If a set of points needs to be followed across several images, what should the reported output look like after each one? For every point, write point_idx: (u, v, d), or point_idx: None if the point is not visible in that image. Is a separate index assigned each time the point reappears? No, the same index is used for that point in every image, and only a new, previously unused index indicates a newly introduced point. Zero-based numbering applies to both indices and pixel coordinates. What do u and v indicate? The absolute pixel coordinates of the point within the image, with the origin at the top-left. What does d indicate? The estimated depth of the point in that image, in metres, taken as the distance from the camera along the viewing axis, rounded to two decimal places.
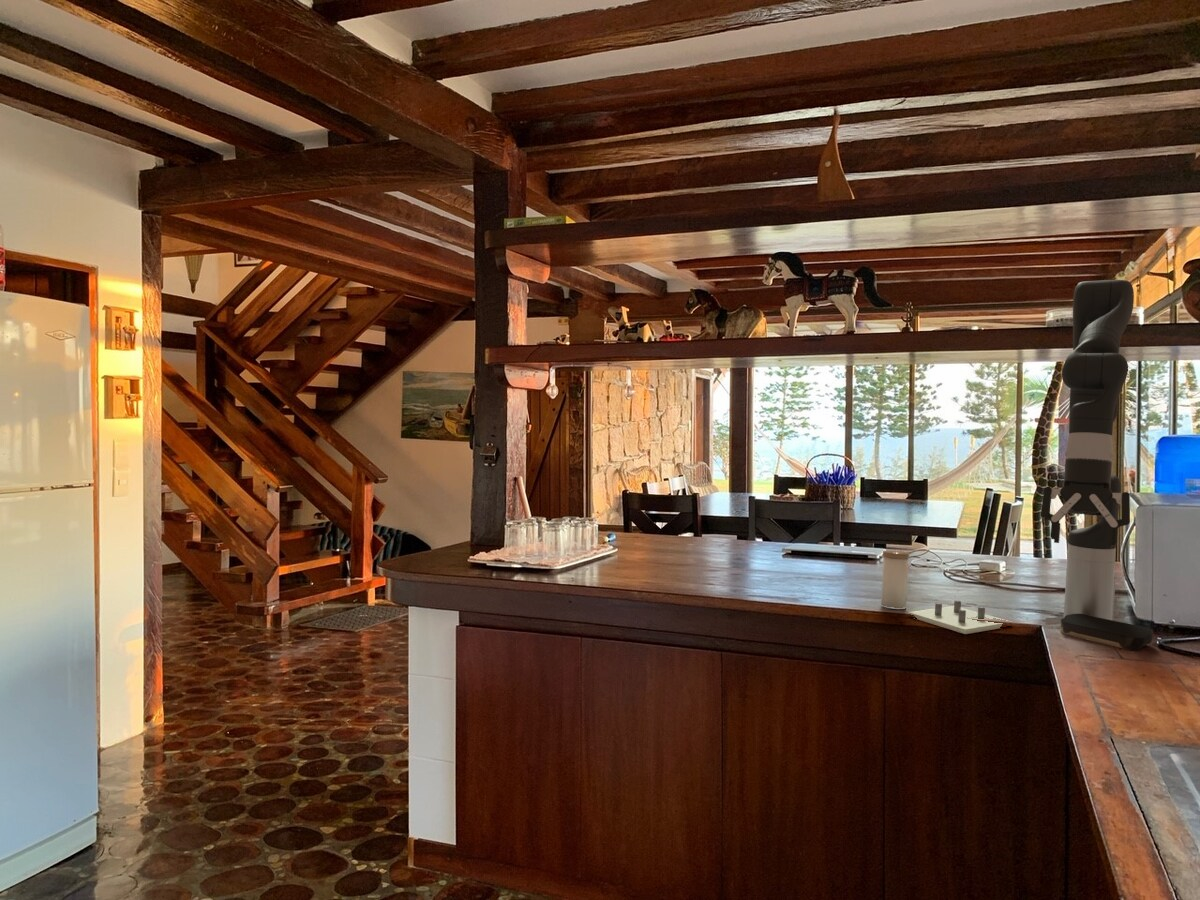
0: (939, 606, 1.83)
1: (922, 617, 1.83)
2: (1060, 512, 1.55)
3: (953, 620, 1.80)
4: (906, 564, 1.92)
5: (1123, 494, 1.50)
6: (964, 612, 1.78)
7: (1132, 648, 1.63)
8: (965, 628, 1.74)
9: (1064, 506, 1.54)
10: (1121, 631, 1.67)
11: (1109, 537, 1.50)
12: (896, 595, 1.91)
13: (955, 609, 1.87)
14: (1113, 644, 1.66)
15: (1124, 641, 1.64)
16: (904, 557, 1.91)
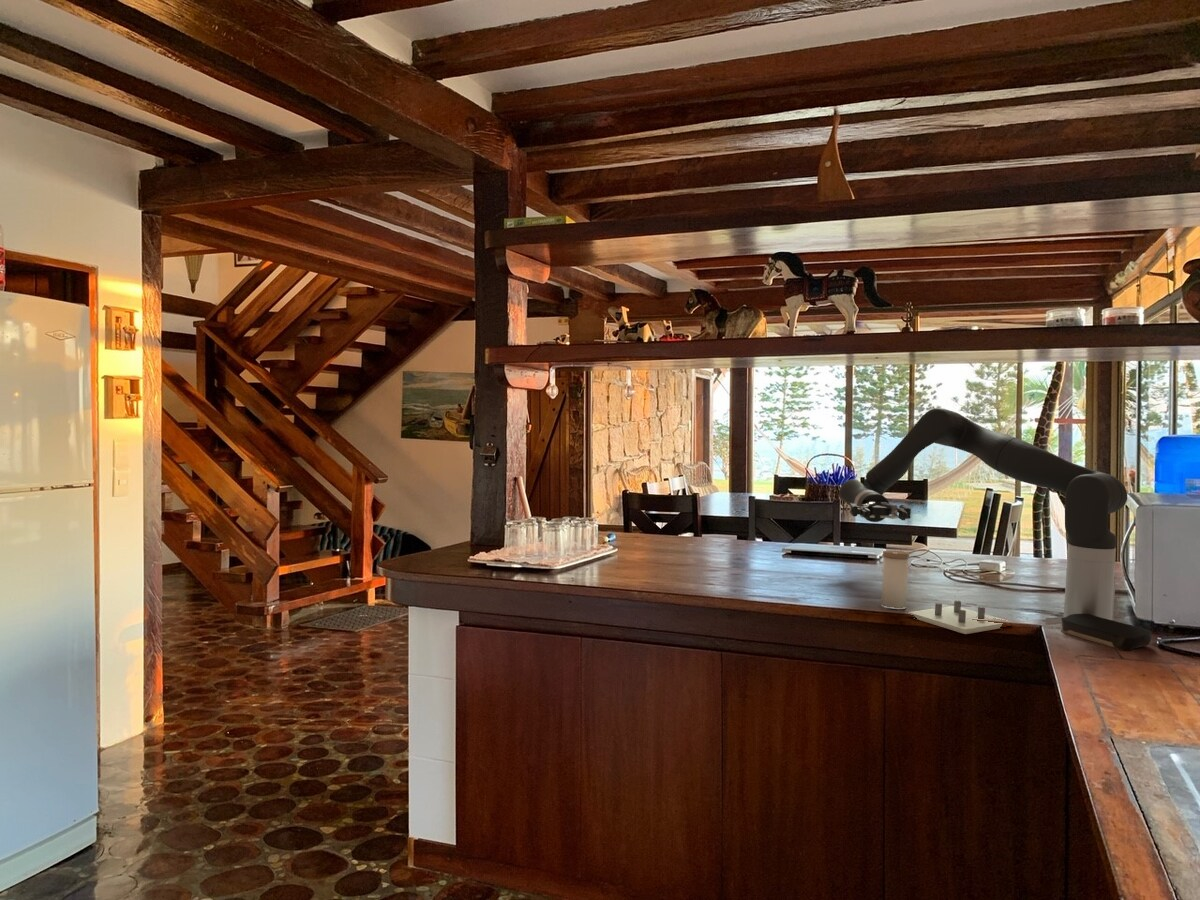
0: (939, 606, 1.83)
1: (922, 617, 1.83)
2: None
3: (953, 620, 1.80)
4: (906, 564, 1.92)
5: None
6: (964, 612, 1.78)
7: (1124, 648, 1.63)
8: (965, 628, 1.74)
9: None
10: (1116, 631, 1.67)
11: None
12: (896, 595, 1.91)
13: (955, 609, 1.87)
14: (1107, 644, 1.67)
15: (1116, 640, 1.65)
16: (904, 557, 1.91)
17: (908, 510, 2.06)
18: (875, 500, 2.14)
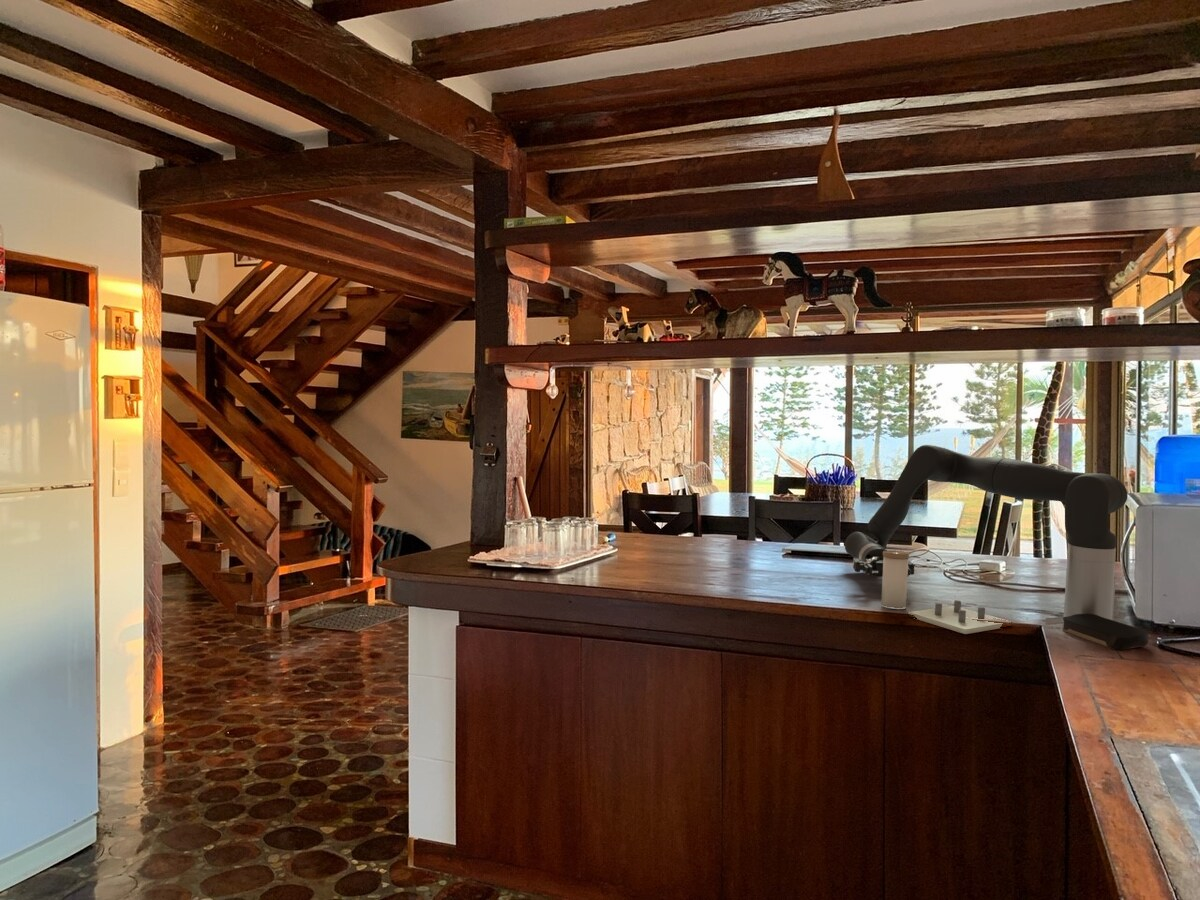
0: (939, 606, 1.83)
1: (922, 617, 1.83)
2: None
3: (953, 620, 1.80)
4: (906, 564, 1.92)
5: None
6: (964, 612, 1.78)
7: (1115, 647, 1.64)
8: (965, 628, 1.74)
9: None
10: (1112, 631, 1.67)
11: None
12: (896, 595, 1.91)
13: (955, 609, 1.87)
14: (1101, 643, 1.67)
15: (1109, 640, 1.65)
16: (904, 557, 1.91)
17: (912, 566, 2.04)
18: (879, 555, 2.12)
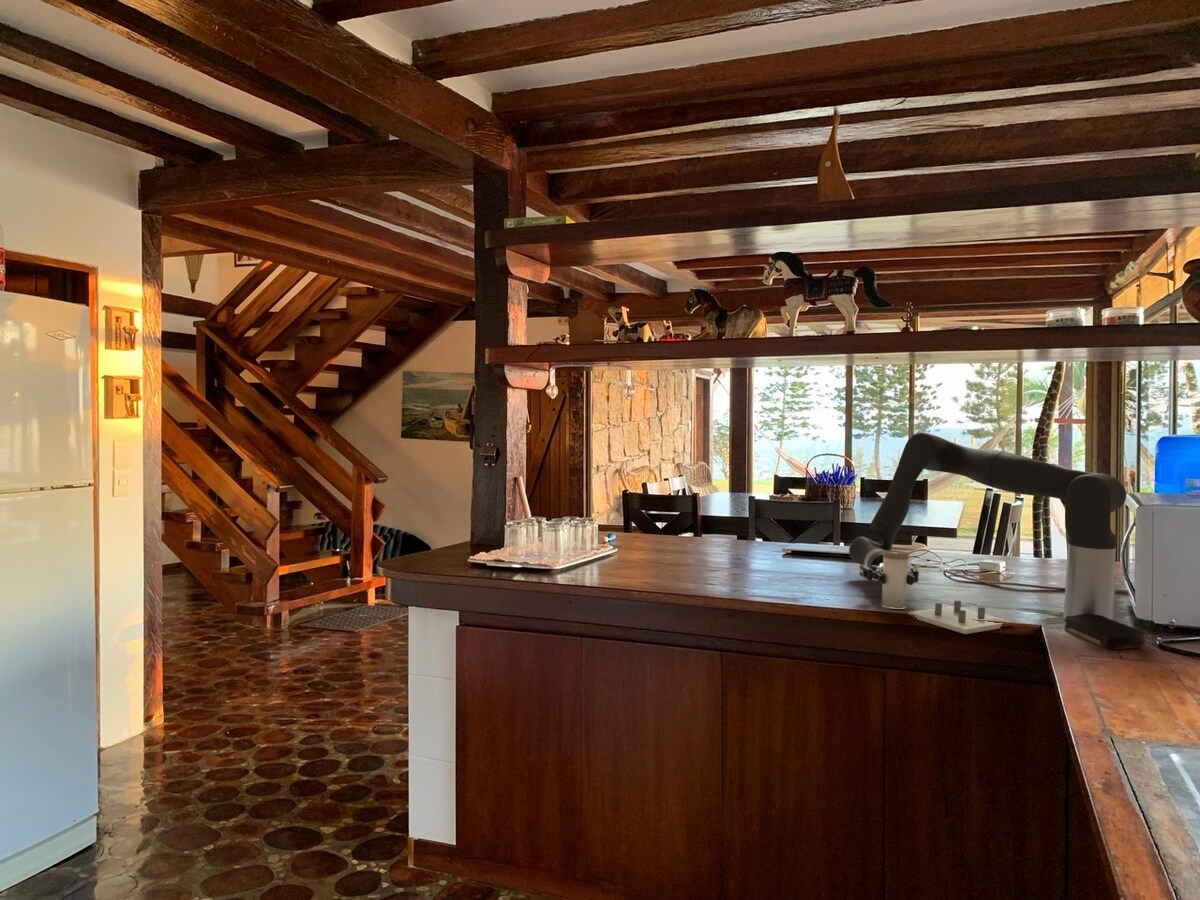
0: (939, 606, 1.83)
1: (922, 617, 1.83)
2: None
3: (953, 620, 1.80)
4: (906, 564, 1.92)
5: None
6: (964, 612, 1.78)
7: (1108, 646, 1.64)
8: (965, 628, 1.74)
9: None
10: (1107, 630, 1.67)
11: None
12: (896, 594, 1.91)
13: (955, 609, 1.87)
14: (1096, 642, 1.68)
15: (1102, 639, 1.65)
16: (904, 557, 1.91)
17: (915, 573, 1.95)
18: None
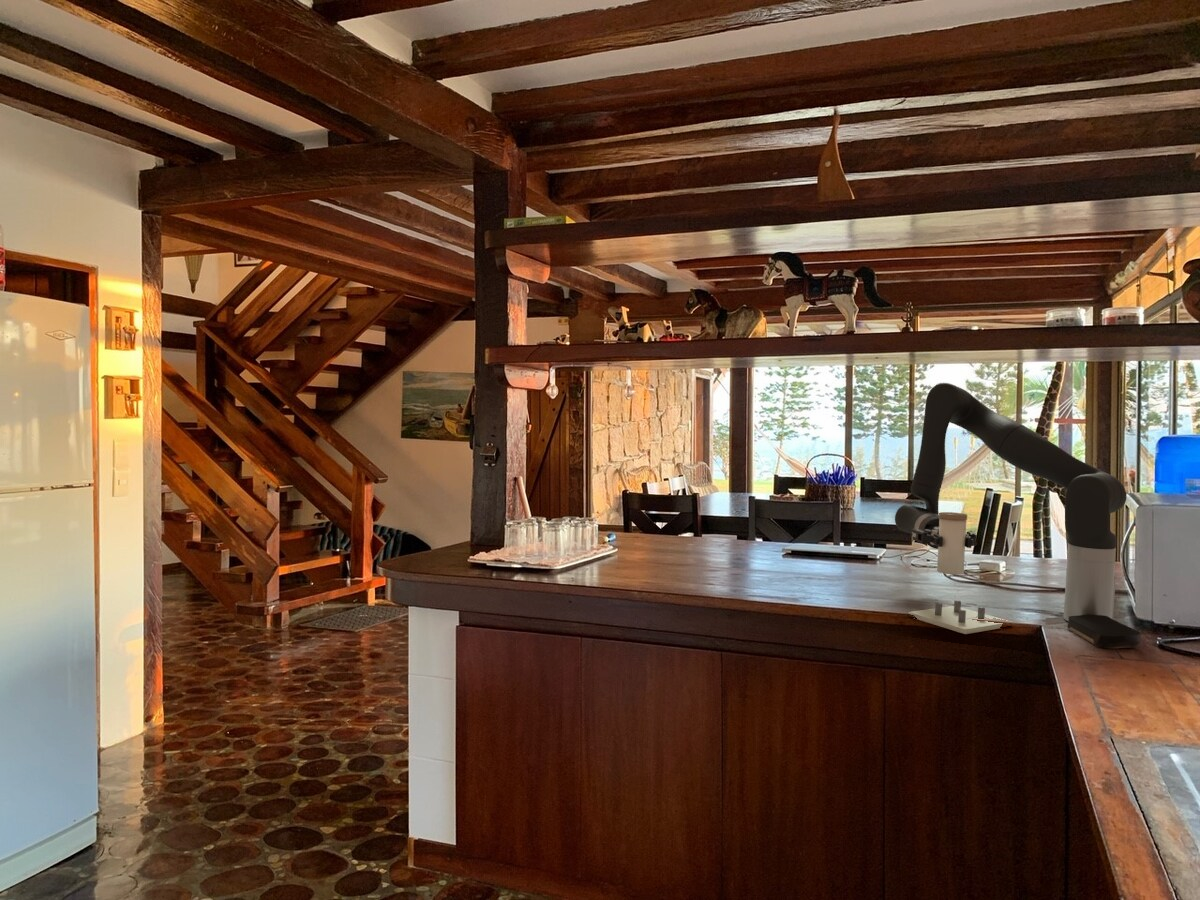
0: (939, 606, 1.83)
1: (922, 617, 1.83)
2: None
3: (953, 620, 1.80)
4: (964, 526, 1.81)
5: None
6: (964, 612, 1.78)
7: (1099, 645, 1.65)
8: (965, 628, 1.74)
9: None
10: (1102, 630, 1.67)
11: None
12: (953, 558, 1.81)
13: (955, 609, 1.87)
14: (1091, 641, 1.68)
15: (1094, 637, 1.66)
16: (962, 518, 1.80)
17: (973, 536, 1.85)
18: None
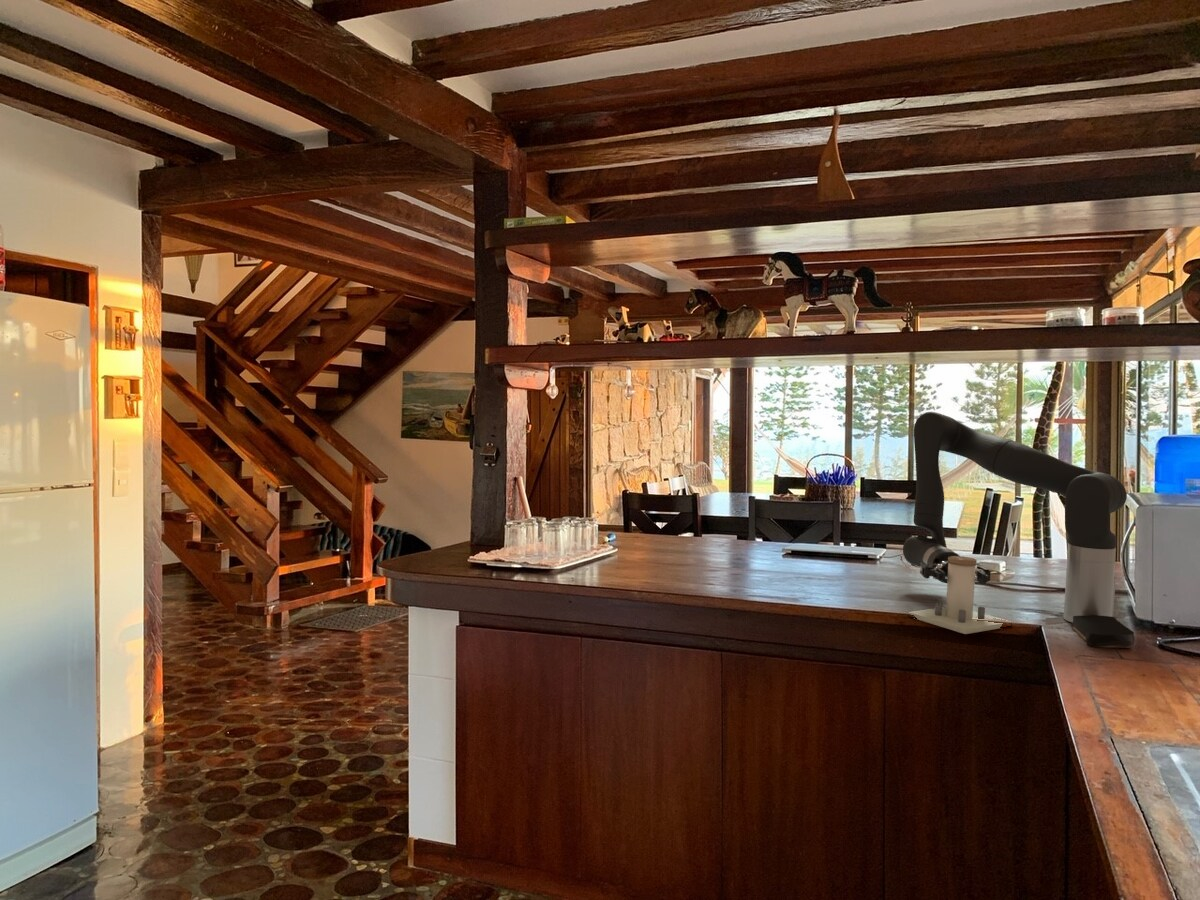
0: (939, 606, 1.83)
1: (922, 617, 1.83)
2: None
3: (953, 620, 1.80)
4: (973, 571, 1.80)
5: None
6: (964, 612, 1.78)
7: (1089, 643, 1.66)
8: (965, 628, 1.74)
9: None
10: (1096, 629, 1.68)
11: (941, 580, 1.83)
12: (962, 603, 1.80)
13: None
14: (1085, 639, 1.69)
15: (1086, 636, 1.67)
16: (972, 564, 1.79)
17: (988, 572, 1.84)
18: None
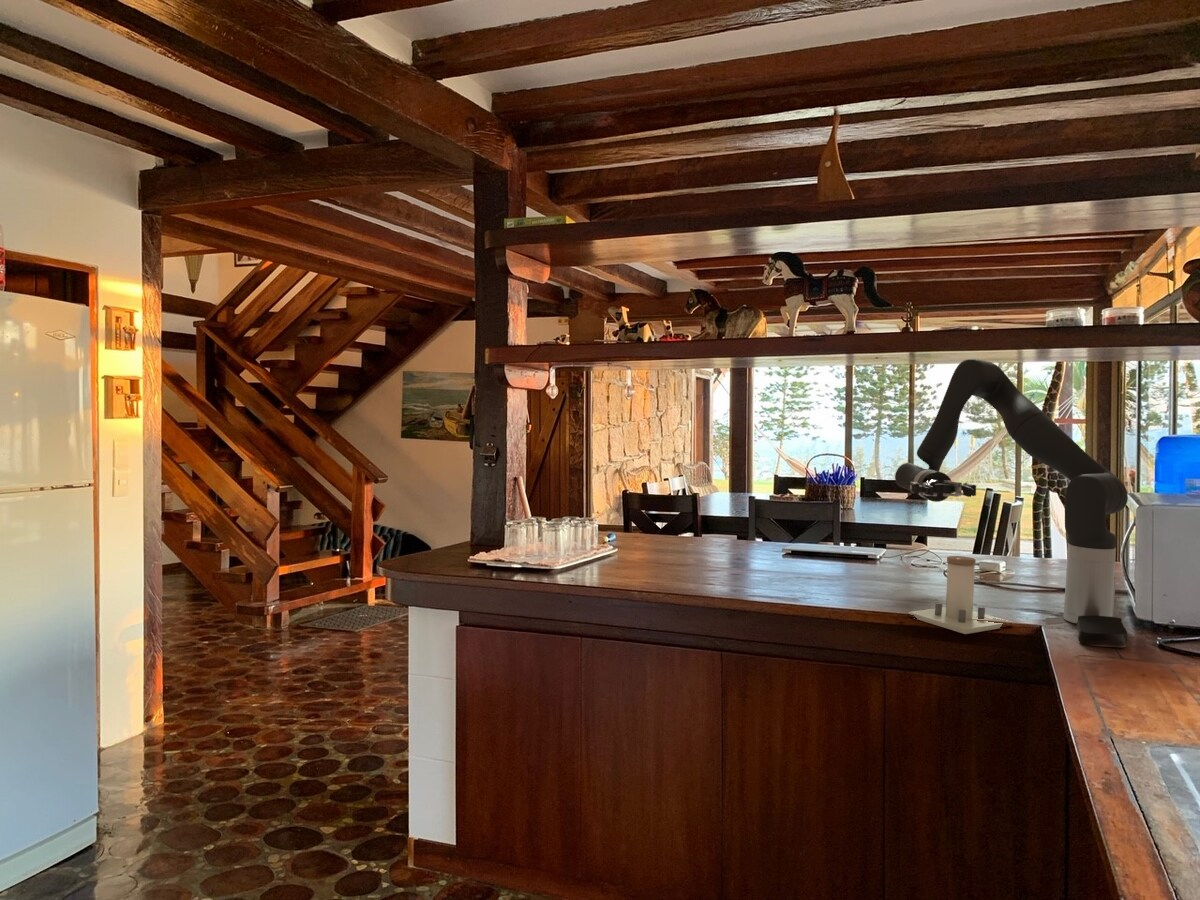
0: (939, 606, 1.83)
1: (922, 617, 1.83)
2: (960, 495, 1.97)
3: (953, 620, 1.80)
4: (973, 571, 1.80)
5: None
6: (964, 612, 1.78)
7: (1081, 642, 1.67)
8: (965, 628, 1.74)
9: None
10: (1091, 628, 1.69)
11: None
12: (962, 603, 1.80)
13: None
14: None
15: (1079, 634, 1.69)
16: (971, 563, 1.80)
17: (973, 487, 1.96)
18: (937, 478, 2.03)
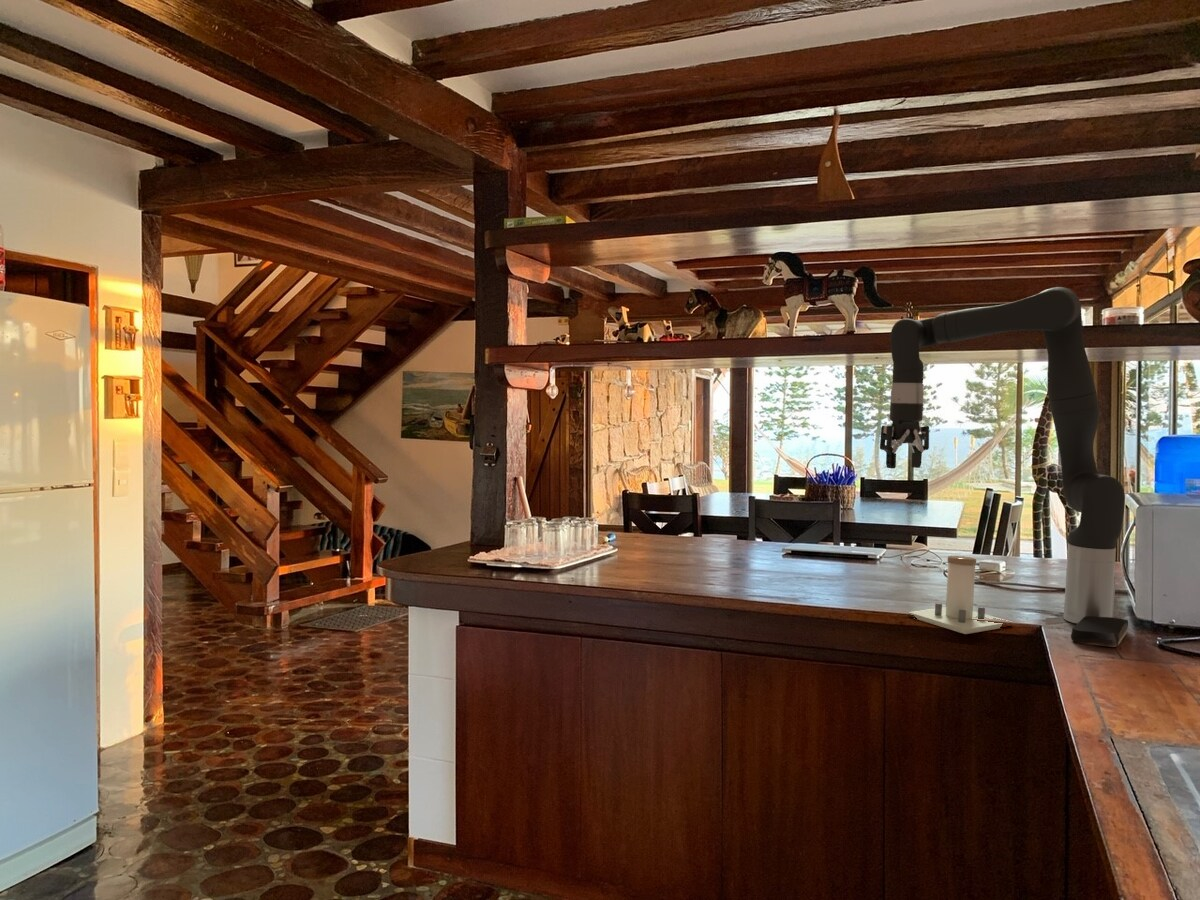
0: (939, 606, 1.83)
1: (922, 617, 1.83)
2: None
3: (953, 620, 1.80)
4: (973, 570, 1.81)
5: None
6: (964, 612, 1.78)
7: (1072, 639, 1.69)
8: (965, 628, 1.74)
9: None
10: (1086, 626, 1.70)
11: None
12: (963, 603, 1.80)
13: None
14: None
15: None
16: (972, 563, 1.80)
17: (925, 449, 2.04)
18: None
